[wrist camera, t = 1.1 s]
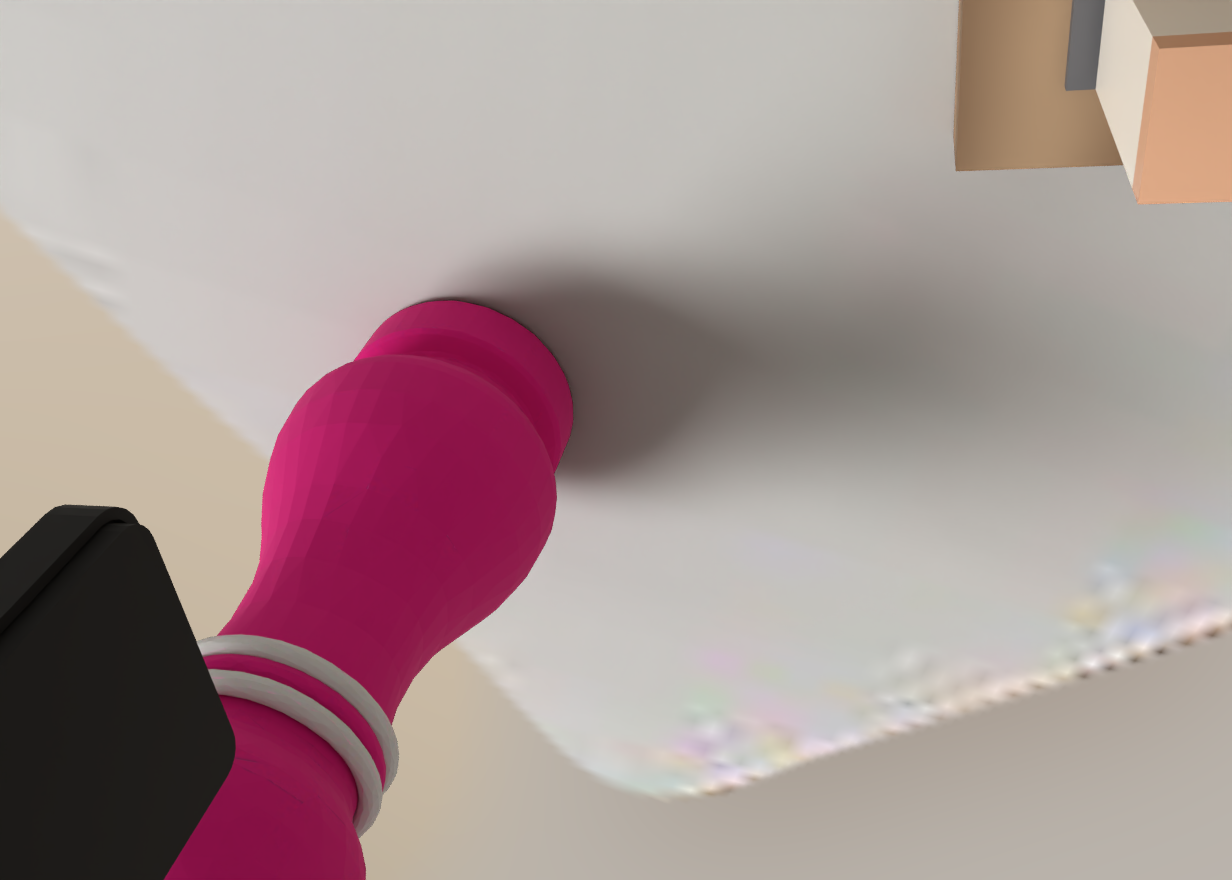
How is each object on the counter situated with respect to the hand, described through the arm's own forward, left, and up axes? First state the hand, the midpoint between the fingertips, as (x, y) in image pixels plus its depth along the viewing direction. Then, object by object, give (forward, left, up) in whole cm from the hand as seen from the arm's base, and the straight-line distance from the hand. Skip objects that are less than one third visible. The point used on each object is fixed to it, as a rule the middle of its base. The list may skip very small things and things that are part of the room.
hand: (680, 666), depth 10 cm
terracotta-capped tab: (0, +7, -17) cm, 18 cm away
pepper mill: (+10, -10, -20) cm, 24 cm away
